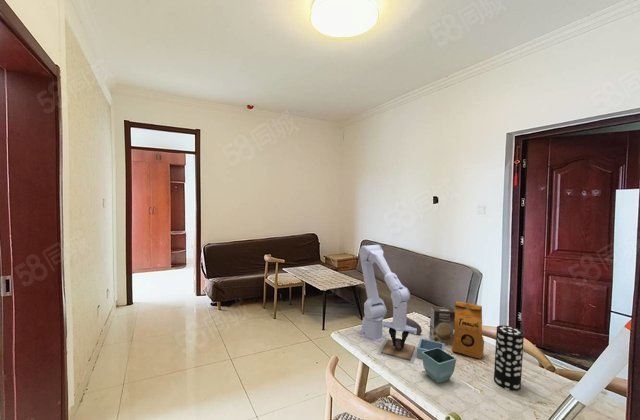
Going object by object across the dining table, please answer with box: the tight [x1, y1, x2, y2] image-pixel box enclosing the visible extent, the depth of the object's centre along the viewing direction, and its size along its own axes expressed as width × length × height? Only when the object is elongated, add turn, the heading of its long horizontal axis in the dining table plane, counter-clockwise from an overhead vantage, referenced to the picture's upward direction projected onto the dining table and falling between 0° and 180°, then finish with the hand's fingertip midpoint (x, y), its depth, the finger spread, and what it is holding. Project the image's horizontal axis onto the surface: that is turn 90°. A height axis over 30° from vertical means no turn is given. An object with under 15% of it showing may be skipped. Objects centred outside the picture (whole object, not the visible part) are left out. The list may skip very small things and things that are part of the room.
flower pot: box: [421, 348, 457, 384], centre depth 109 cm, size 9×9×9 cm
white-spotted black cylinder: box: [493, 324, 525, 392], centre depth 107 cm, size 8×8×20 cm
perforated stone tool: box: [406, 316, 423, 335], centre depth 147 cm, size 15×5×7 cm, turn 43°
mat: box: [376, 338, 418, 365], centre depth 128 cm, size 15×15×1 cm
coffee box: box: [428, 305, 455, 347], centre depth 136 cm, size 9×6×16 cm
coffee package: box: [451, 301, 485, 360], centre depth 128 cm, size 10×12×22 cm
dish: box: [416, 337, 446, 360], centre depth 124 cm, size 10×10×4 cm
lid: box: [381, 337, 416, 361], centre depth 127 cm, size 12×12×5 cm
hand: (398, 346), depth 128 cm, fingers closed on lid, 3 cm apart
